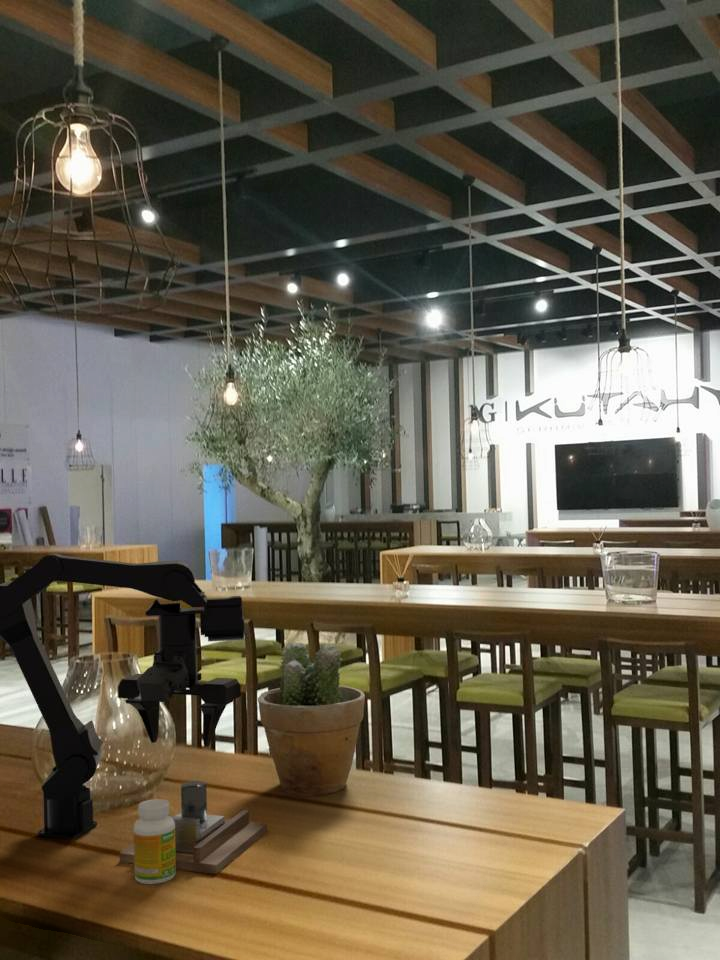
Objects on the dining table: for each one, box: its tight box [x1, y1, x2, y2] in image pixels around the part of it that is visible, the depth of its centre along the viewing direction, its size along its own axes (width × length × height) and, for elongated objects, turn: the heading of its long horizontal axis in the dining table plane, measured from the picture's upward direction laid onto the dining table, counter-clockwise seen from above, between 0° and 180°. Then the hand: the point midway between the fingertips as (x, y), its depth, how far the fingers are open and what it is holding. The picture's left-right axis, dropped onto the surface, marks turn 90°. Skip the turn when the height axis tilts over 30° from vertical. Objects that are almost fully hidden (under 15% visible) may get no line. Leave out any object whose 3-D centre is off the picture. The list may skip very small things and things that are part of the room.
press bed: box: [119, 809, 268, 875], centre depth 137 cm, size 15×16×3 cm
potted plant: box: [257, 641, 366, 797], centre depth 163 cm, size 18×19×25 cm
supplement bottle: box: [133, 798, 177, 885], centre depth 126 cm, size 5×5×10 cm
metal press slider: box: [169, 780, 225, 853], centre depth 135 cm, size 7×8×7 cm
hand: (180, 744), depth 147 cm, fingers open, 9 cm apart
